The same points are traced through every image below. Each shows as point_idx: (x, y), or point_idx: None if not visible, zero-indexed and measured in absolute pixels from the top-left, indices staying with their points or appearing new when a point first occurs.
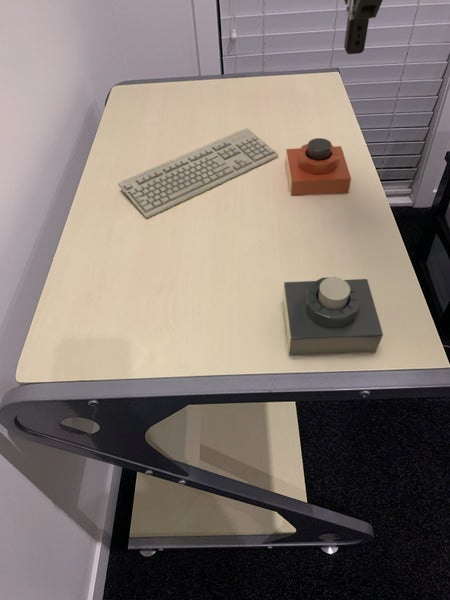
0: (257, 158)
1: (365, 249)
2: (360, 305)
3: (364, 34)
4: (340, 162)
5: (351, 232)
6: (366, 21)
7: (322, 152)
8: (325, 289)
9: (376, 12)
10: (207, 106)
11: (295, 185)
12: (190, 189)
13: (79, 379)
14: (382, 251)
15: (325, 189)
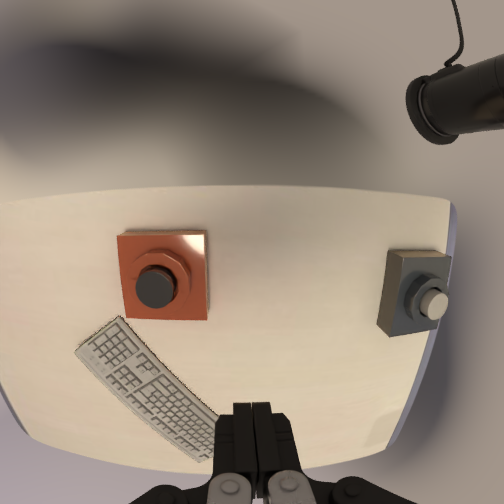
0: (134, 347)
1: (323, 230)
2: (427, 270)
3: (295, 445)
4: (161, 244)
5: (291, 241)
6: (304, 474)
7: (173, 288)
8: (437, 315)
9: (377, 488)
10: (33, 376)
11: (207, 312)
12: (204, 414)
13: (394, 429)
14: (328, 210)
15: (206, 266)
